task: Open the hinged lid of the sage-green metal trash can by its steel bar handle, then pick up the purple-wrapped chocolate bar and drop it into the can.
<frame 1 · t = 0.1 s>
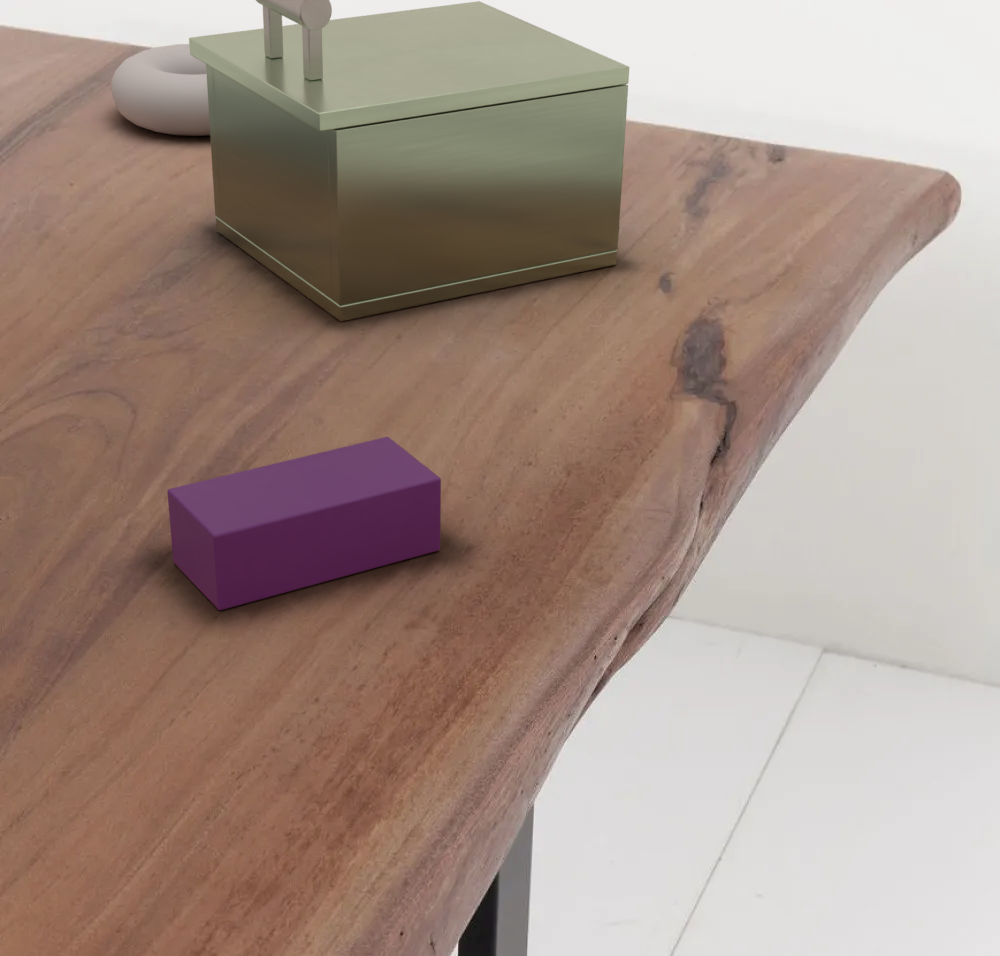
donut: (199, 121, 112), on the table
trash can: (413, 247, 95), on the table
chocolate bar: (307, 556, 69), on the table
can lid: (406, 18, 89), point 11 cm above the table, hinge at 0.0°
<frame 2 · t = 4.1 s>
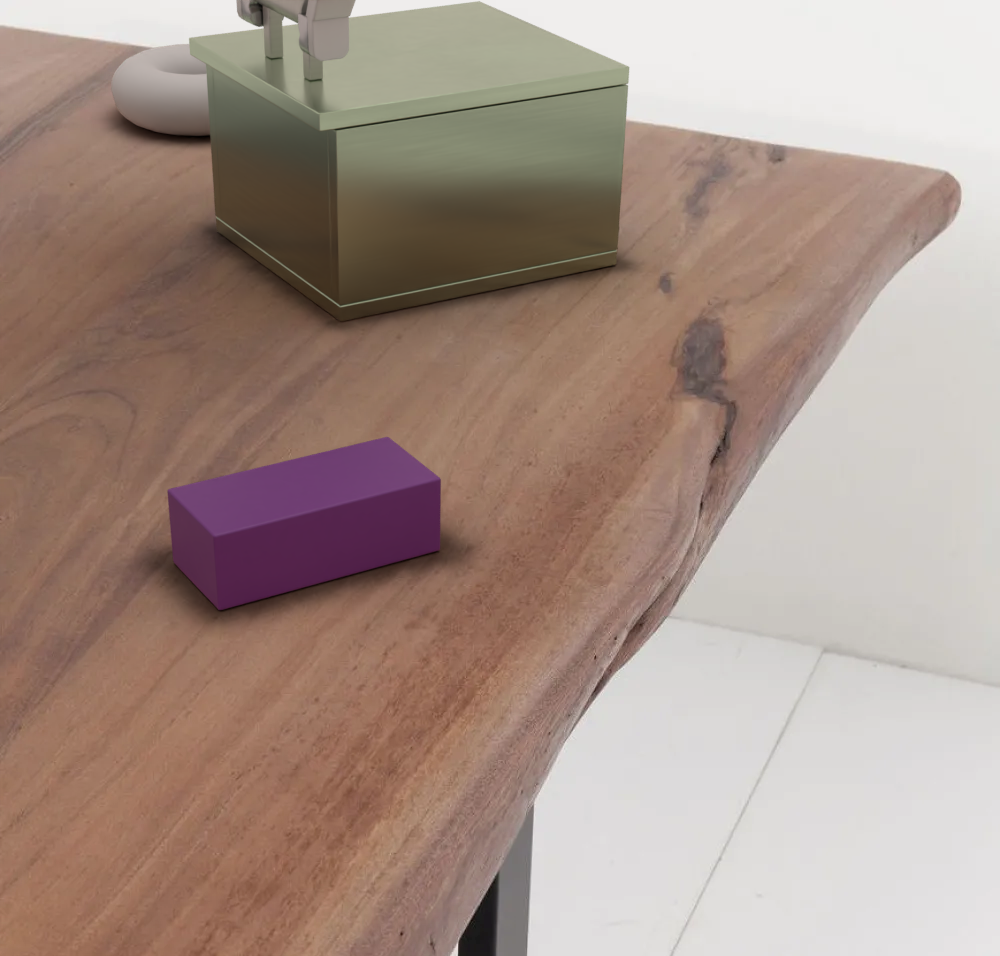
hand: (292, 39, 86), 11 cm above the table, tool pointing down, fingers closed on can lid, 5 cm apart
can lid: (406, 18, 89), point 11 cm above the table, hinge at 0.0°, touching gripper
everything else where it was.
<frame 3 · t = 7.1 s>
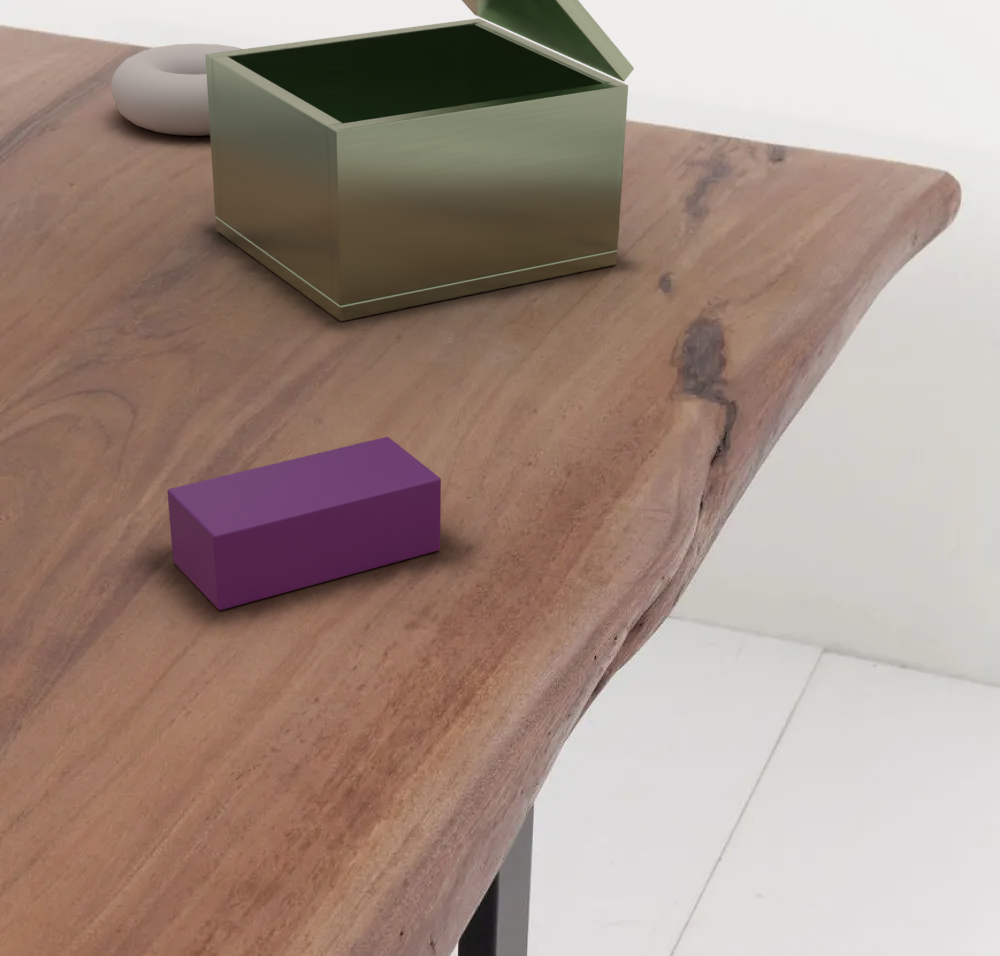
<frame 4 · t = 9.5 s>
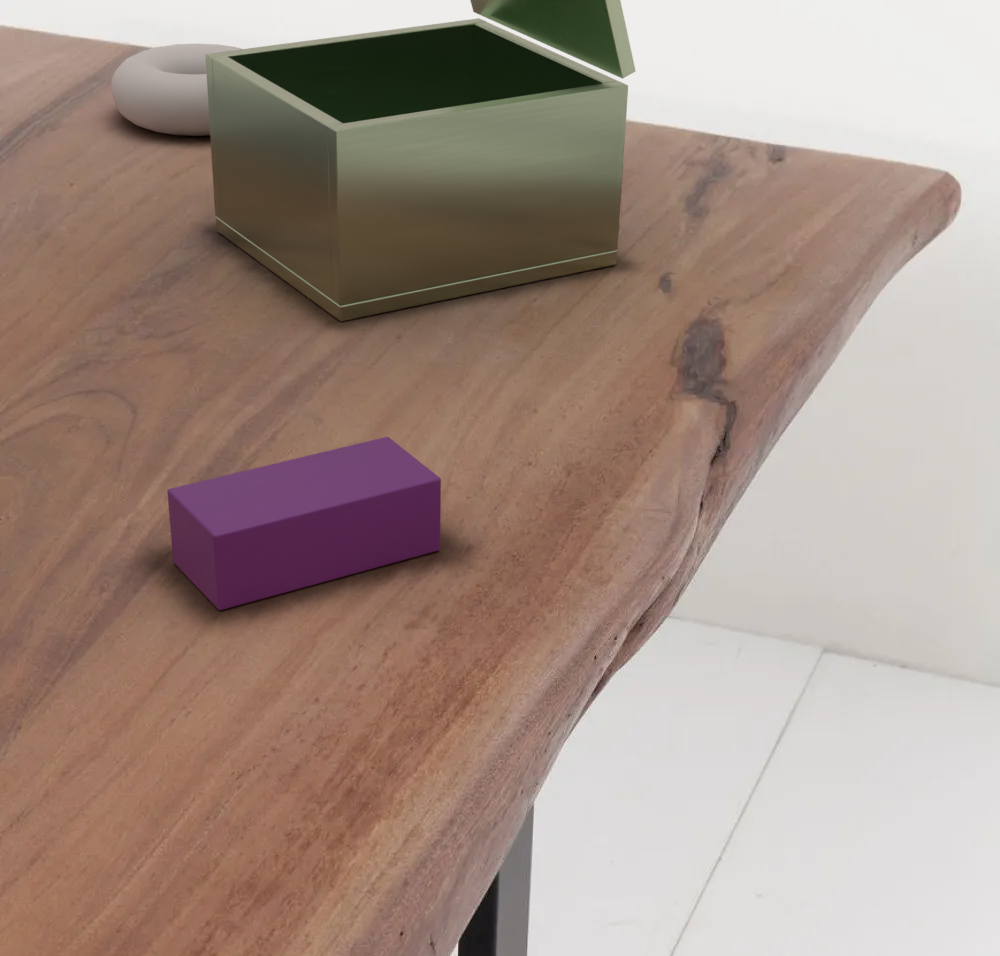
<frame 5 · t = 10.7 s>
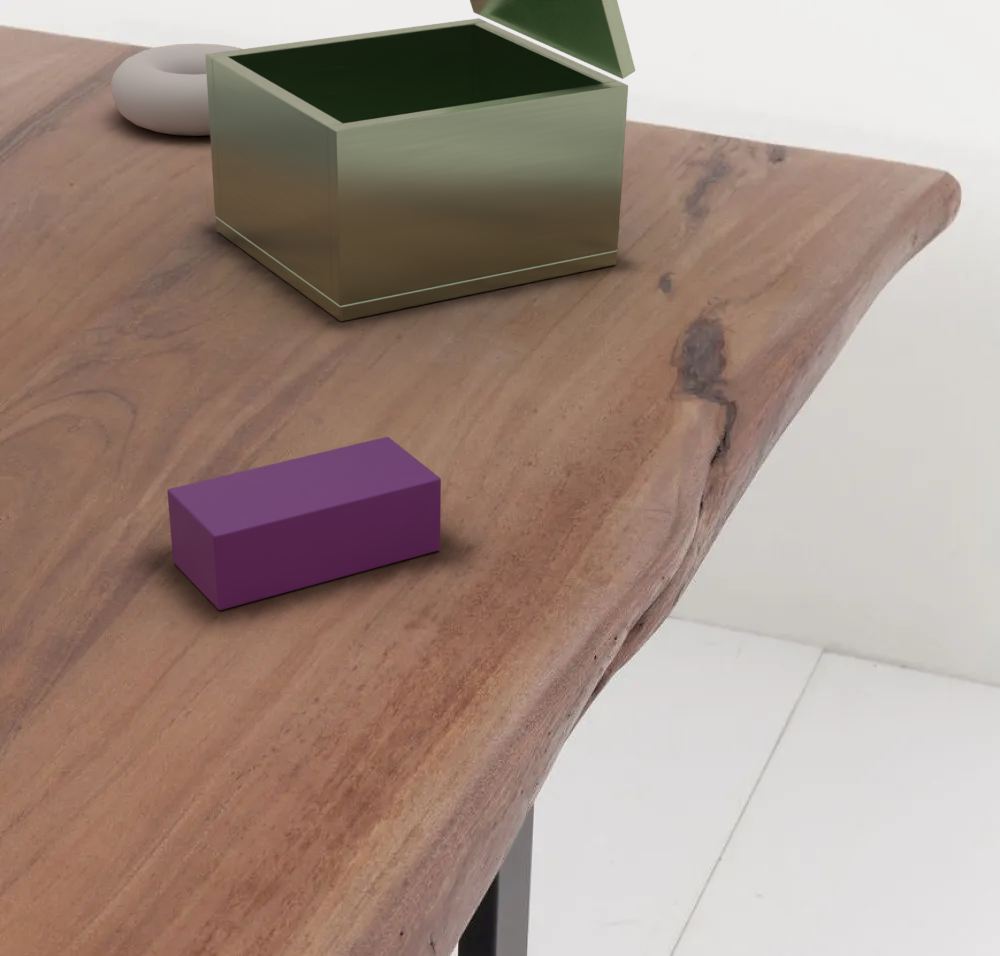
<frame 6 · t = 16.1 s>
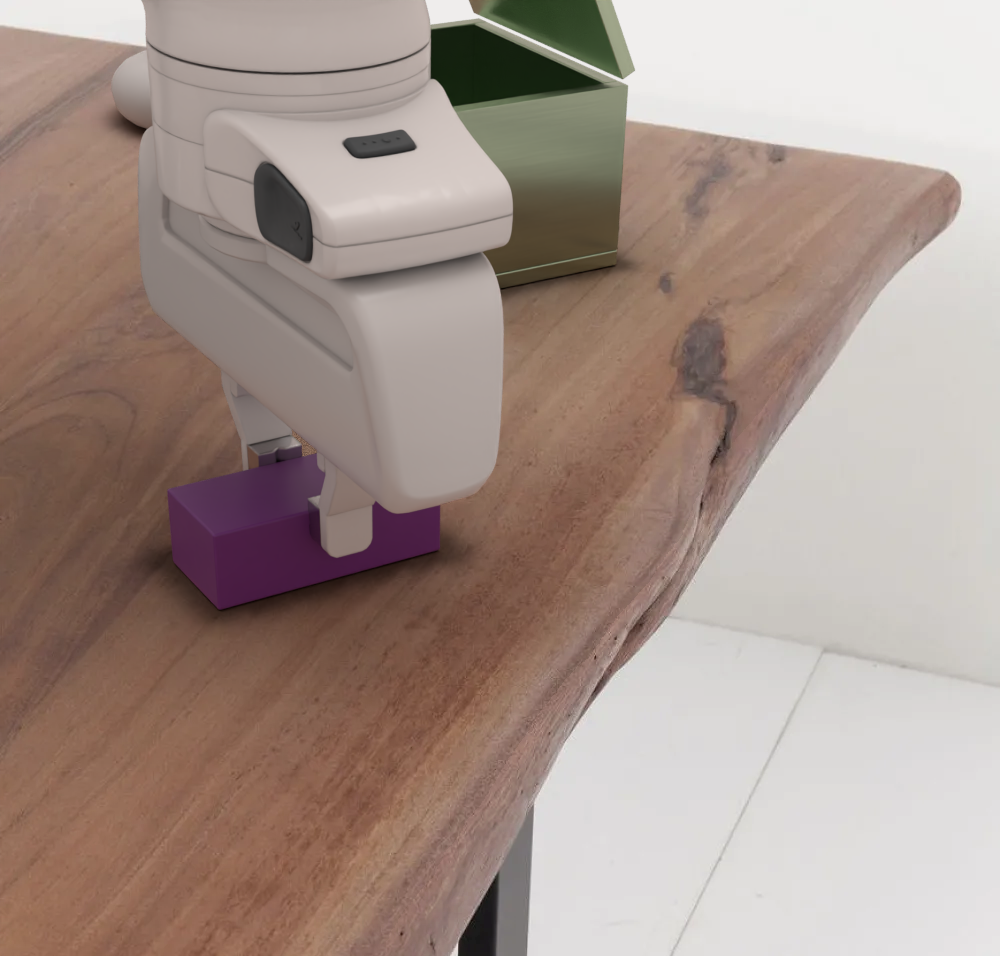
hand: (306, 515, 68), 2 cm above the table, tool pointing down, fingers closed on chocolate bar, 4 cm apart
chocolate bar: (307, 556, 69), on the table, touching gripper
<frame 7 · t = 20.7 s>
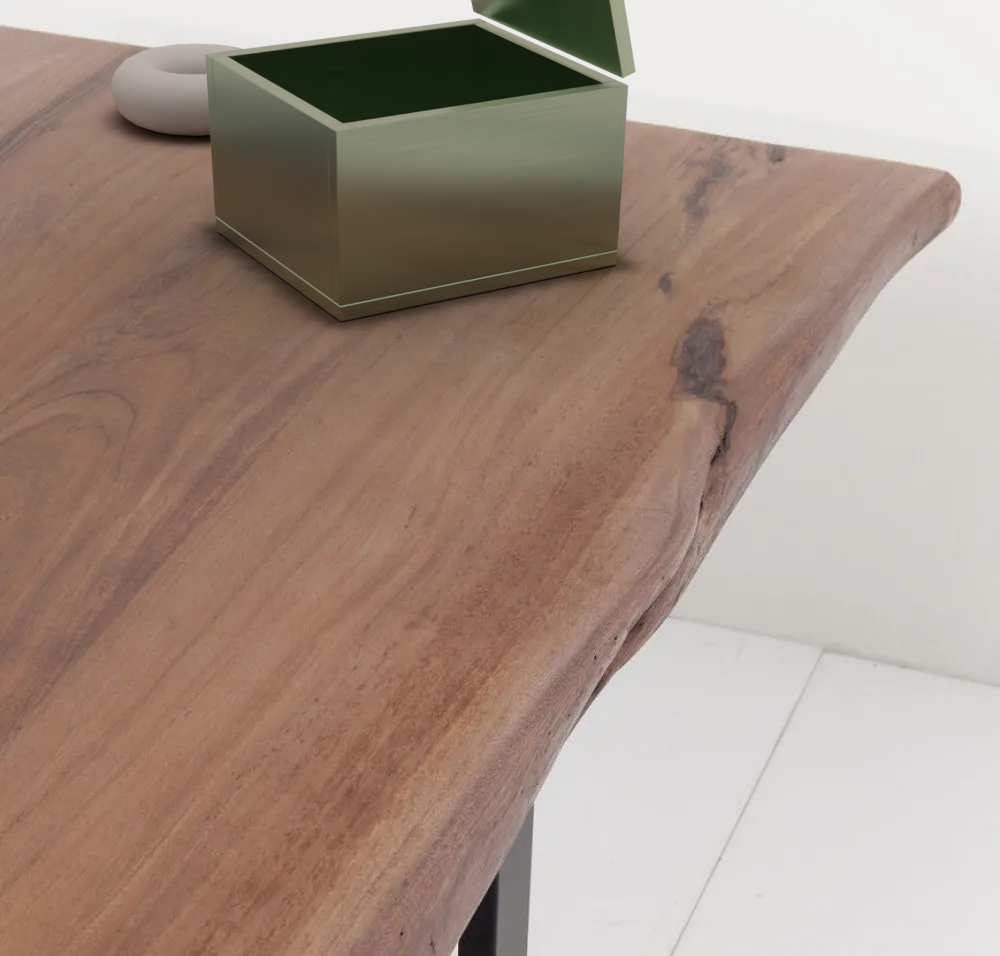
when the fingers open (13 cm above the table, at t = 23.5 s): chocolate bar drops 11 cm, resting on trash can.
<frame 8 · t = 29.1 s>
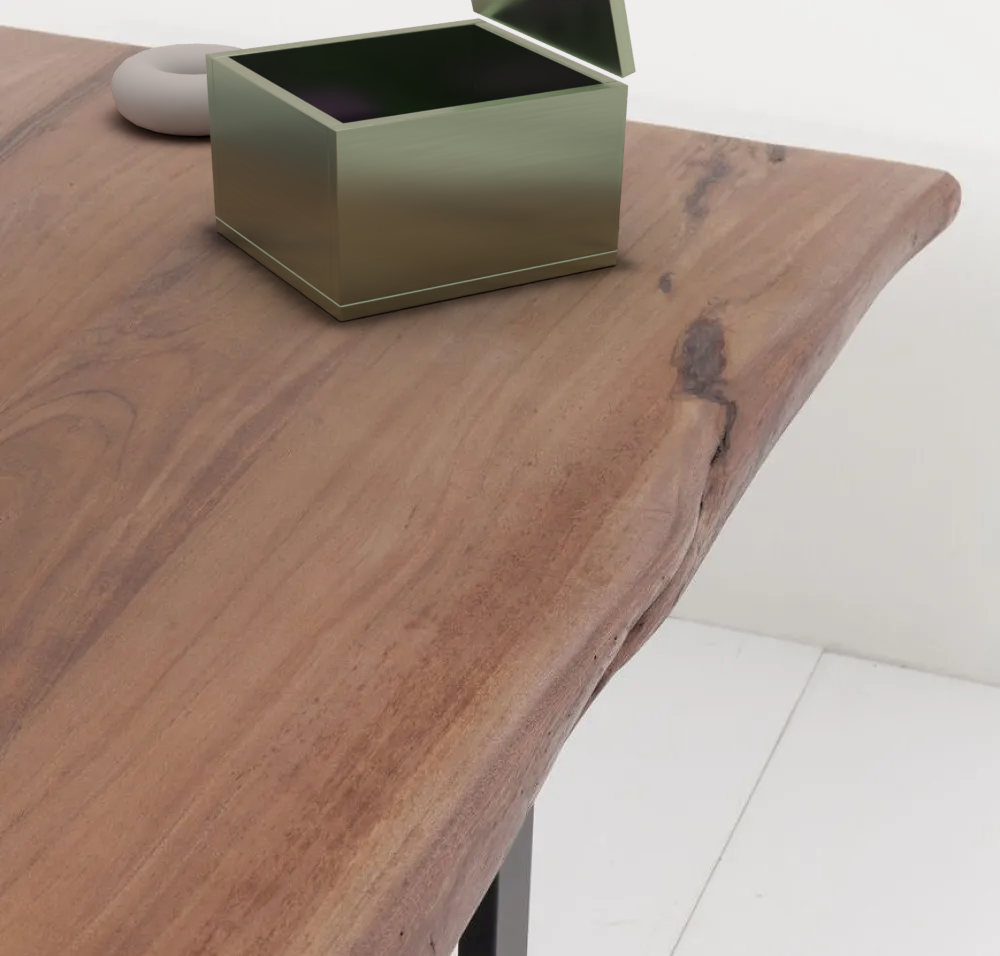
chocolate bar: (397, 236, 94), point 1 cm above the table, touching trash can
at the end: can lid at +74° (first picture: +0°); chocolate bar inside the target area in the trash can (1.0 cm from its centre), point 0.8 cm above the trash can's base; the gripper is holding nothing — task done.
